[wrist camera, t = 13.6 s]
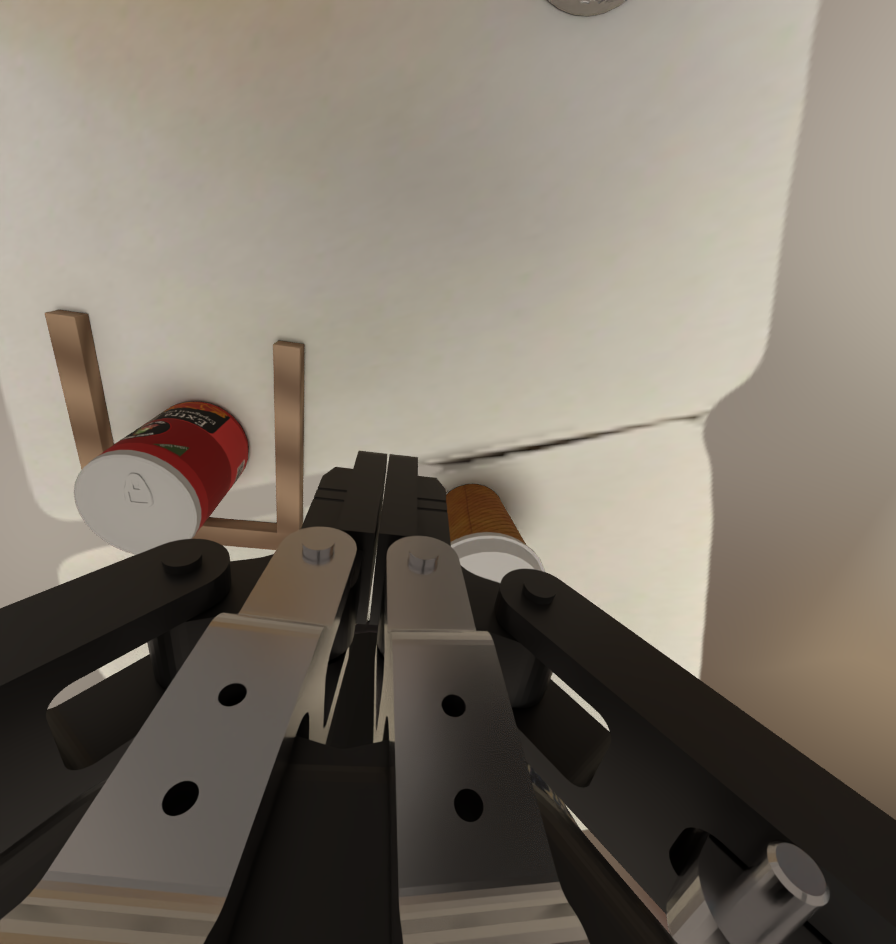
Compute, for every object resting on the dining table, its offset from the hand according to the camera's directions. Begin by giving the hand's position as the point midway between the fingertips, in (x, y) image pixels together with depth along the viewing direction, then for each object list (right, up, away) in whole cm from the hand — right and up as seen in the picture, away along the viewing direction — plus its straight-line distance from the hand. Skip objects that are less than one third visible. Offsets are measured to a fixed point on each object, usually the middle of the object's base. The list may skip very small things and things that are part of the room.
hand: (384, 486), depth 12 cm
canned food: (-19, +3, +28) cm, 34 cm away
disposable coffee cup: (+4, -3, +33) cm, 33 cm away
